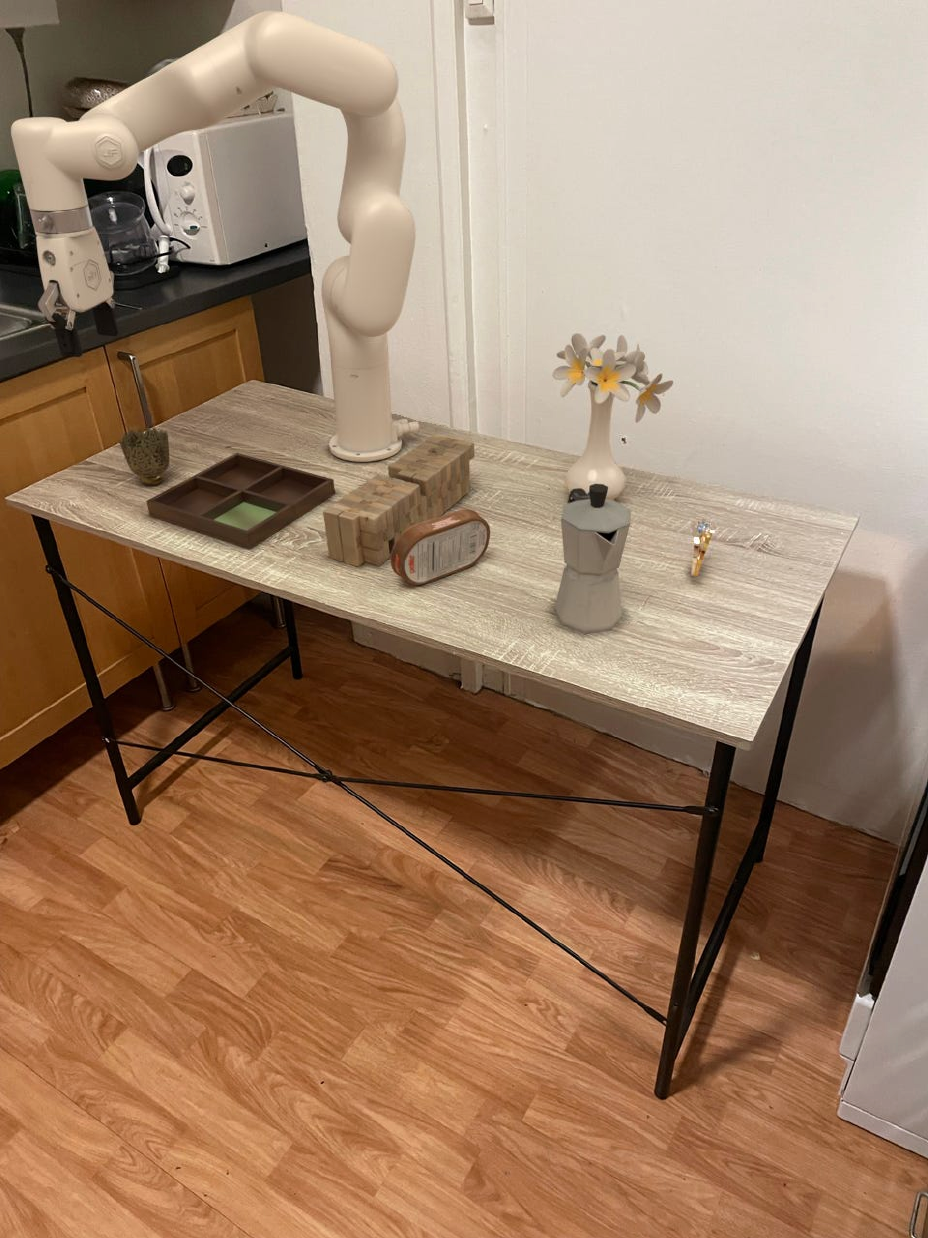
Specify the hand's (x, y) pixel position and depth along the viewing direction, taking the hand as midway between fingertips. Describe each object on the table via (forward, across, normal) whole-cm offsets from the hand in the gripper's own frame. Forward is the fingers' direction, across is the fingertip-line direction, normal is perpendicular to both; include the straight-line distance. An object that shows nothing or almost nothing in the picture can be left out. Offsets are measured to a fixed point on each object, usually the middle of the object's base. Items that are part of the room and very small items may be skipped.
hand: (90, 345), depth 135 cm
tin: (+23, -15, -57) cm, 63 cm away
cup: (+23, +3, -4) cm, 24 cm away
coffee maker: (+23, -19, -77) cm, 82 cm away
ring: (+23, -8, -90) cm, 94 cm away
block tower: (+23, -2, -48) cm, 53 cm away
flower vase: (+23, +11, -75) cm, 80 cm away
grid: (+23, -2, -22) cm, 32 cm away
